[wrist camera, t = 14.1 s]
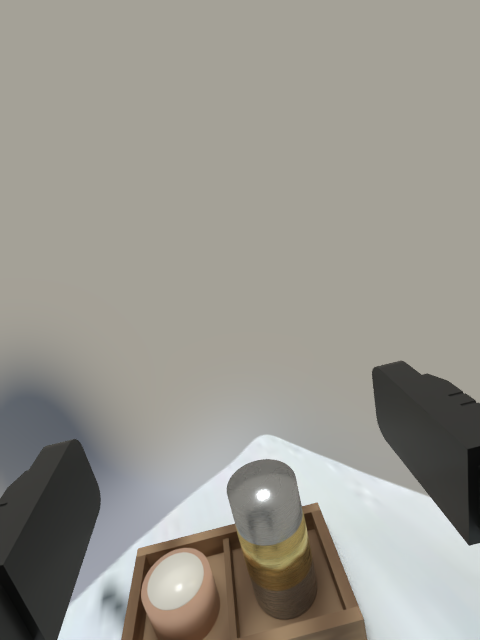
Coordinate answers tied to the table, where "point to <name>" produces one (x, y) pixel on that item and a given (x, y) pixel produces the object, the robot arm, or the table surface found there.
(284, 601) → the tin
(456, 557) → the table surface
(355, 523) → the table surface
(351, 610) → the tray
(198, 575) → the ramekin
